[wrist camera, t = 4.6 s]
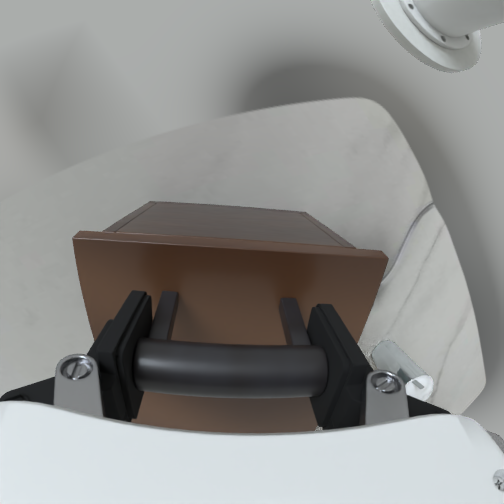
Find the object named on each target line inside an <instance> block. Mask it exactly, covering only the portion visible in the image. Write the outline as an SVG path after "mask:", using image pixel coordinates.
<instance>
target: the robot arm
mask: <svg viewBox="0 0 504 504" xmlns="http://www.w3.org/2000/svg"><path fill="white" fill-rule="evenodd" d="M399 2H400V5H401V7H402V8H403V10H404V11H405V13H406V15H407V16H408V17H409V19H410V20H411V21H412V23H413V24H414V25H415V26H416V27H417V28H418V29H419V30H420V31H421V32H422V33H423V34H424V35H425V36H426V37H428V38H429V39H430V40H432V41H433V42H435V43H436V44H438V45H440V46H442V47H444V48H447V49H452V50H458V49H462V48H465V47H466V46H468V45H469V43H470V42H471V39H472V32H475V31H478V30H481V29H484V28H487V27H490V26H494V25H497V24H500V23H504V0H399ZM152 322H153V317H152V298H151V296H150V295H147V292H146V291H137V290H132V291H131V292H130V294H129V296H128V297H127V299H126V300H125V302H124V303H123V305H122V307H121V308H120V310H119V311H118V313H117V315H116V316H115V318H114V320H113V319H109V320H108V321H107V323H106V324H105V326H104V327H103V329H102V330H101V332H100V334H99V335H98V337H97V339H96V340H95V342H94V343H93V345H92V347H91V348H90V350H89V352H88V353H87V355H85V354H73V355H69V356H66V357H64V358H63V359H61V360H60V361H59V363H58V364H57V367H56V373H55V377H52V378H49V379H46V380H43V381H40V382H37V383H34V384H31V385H27V386H24V387H21V388H18V389H15V390H11V391H9V392H7V393H5V394H4V395H3V396H2V397H1V398H0V504H504V441H503V439H502V438H501V437H500V436H499V435H497V434H495V433H492V432H489V431H486V430H485V429H484V428H483V427H482V426H481V425H479V424H478V423H477V422H476V421H475V420H473V419H471V418H470V417H466V416H462V415H456V414H451V413H450V412H448V411H446V410H444V409H442V408H439V407H437V406H434V405H432V404H429V403H427V402H424V401H422V400H419V399H417V398H414V397H412V396H409V395H407V394H406V388H405V384H404V381H403V380H402V379H401V377H399V376H398V375H397V374H395V373H393V372H391V371H387V370H374V371H373V369H372V367H371V366H370V364H369V363H368V361H367V359H366V358H365V356H364V354H363V353H362V351H361V350H360V348H359V346H358V345H357V343H356V342H355V340H354V338H353V337H352V335H351V334H350V332H349V330H348V329H347V327H346V326H345V324H344V323H343V321H342V319H341V318H340V316H339V315H338V313H337V312H336V310H335V308H334V307H333V305H332V304H317V305H316V307H312V309H311V313H310V317H309V322H308V326H307V333H308V336H309V339H310V342H311V345H320V346H322V347H323V348H324V350H325V352H326V355H327V359H328V368H329V373H328V382H327V386H326V389H325V391H324V393H323V394H322V395H320V396H312V397H309V399H310V402H311V405H312V408H313V412H314V415H315V418H316V421H317V424H318V426H319V427H322V428H323V430H320V431H307V432H290V433H221V432H204V431H192V430H181V429H172V428H164V427H156V426H149V425H143V424H137V423H131V420H132V419H137V416H138V412H139V409H140V405H141V402H142V398H143V395H144V391H140V390H138V389H137V388H136V386H135V383H134V379H133V356H134V350H135V347H136V344H137V341H138V340H139V338H142V337H146V338H148V336H149V332H150V329H151V326H152Z"/></svg>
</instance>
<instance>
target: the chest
mask: <svg viewBox="0 0 504 504" xmlns="http://www.w3.org/2000/svg"><path fill="white" fill-rule="evenodd" d="M102 232H113V233H131V234H148V235H165V236H181V237H197V238H213V239H228V240H243V241H258V242H272V243H286V244H300V245H314V246H327V247H340V248H353V249H356V247H354V246H353V245H352V244H350V243H349V242H347V241H346V240H345V239H343V238H342V237H340V236H339V235H338V234H336V233H335V232H333V231H332V230H331V229H329V228H328V227H326V226H325V225H323V224H322V223H321V222H319V221H318V220H316V219H315V218H313V217H312V216H310V215H309V214H308V213H306V212H297V211H286V210H275V209H264V208H252V207H239V206H225V205H210V204H193V203H175V202H154V201H150V202H148V203H147V204H145V205H144V206H142V207H140V208H139V209H137V210H135V211H134V212H132V213H130V214H129V215H127V216H126V217H124V218H122V219H121V220H119V221H118V222H116V223H114V224H113V225H111V226H110V227H108V228H107V229H105V230H104V231H102Z"/></svg>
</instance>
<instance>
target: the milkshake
mask: <svg viewBox="0 0 504 504" xmlns="http://www.w3.org/2000/svg"><path fill="white" fill-rule="evenodd" d="M372 357H373V361H374V363H375V364H376V366H377V368H378V370H387V371H391V372H393V373H395V374H397V375H398V376H399V377H401V379H402V380H403V381H404V384H405V388H406V394H407V395H409V396H412V397H414V398H417V399H419V400H422V401H424V402H425V401H426V400H427V399H428V398H429V397H430V395H431V393H432V390H433V386H434V382H433V379H432V378H431V377H430V376H429V375H428V374H427V373H426V372H425V371H424V370H423V369H421V368H420V367H419V366H418V365H417V364H416V363H415V362H414V361H413V360H412V359H411V358H410V357H409V356H408V355H407V354H406V353H405V352H404V351H403V350H402V349H401V348H400V347H399V346H398V345H397V344H396V343H395V342H393V341H391V340H386V341H382V342H381V343H379V344H378V345H377V346H376V347H375V348H374V350H373V353H372Z"/></svg>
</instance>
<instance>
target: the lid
mask: <svg viewBox="0 0 504 504" xmlns="http://www.w3.org/2000/svg"><path fill="white" fill-rule="evenodd" d="M72 240H73V246H74V253H75V259H76V264H77V270H78V275H79V280H80V285H81V290H82V294H83V299H84V303H85V307H86V311H87V315H88V319H89V323H90V327H91V330H92V334H93V337H94V341H95V340H96V339H97V337H98V335H99V334H100V332H101V330H102V329H103V327H104V326H105V324H106V323H107V321H108V320H109V319H113V320H114V318H115V316H116V315H117V313H118V311H119V310H120V308H121V307H122V305H123V303H124V302H125V300H126V299H127V297H128V296H129V294H130V292H131V291H132V290H137V291H146V292H147V295H150V296H151V298H152V317H153V322H152V326H151V329H150V332H149V336H148V338H146V337H142V338H139V340H138V341H137V344H136V347H135V350H134V356H133V379H134V383H135V386H136V388H137V389H138V390H140V391H144V395H143V398H142V402H141V405H140V409H139V412H138V416H137V419H132V420H131V423H137V424H143V425H149V426H156V427H164V428H172V429H181V430H192V431H204V432H221V433H290V432H307V431H315V429H316V427H317V425H318V424H317V421H316V418H315V415H314V412H313V408H312V405H311V402H310V399H309V397H312V396H320V395H322V394H323V393H324V391H325V389H326V386H327V382H328V373H329V368H328V359H327V355H326V352H325V350H324V348H323V347H322V346H320V345H311V342H310V339H309V336H308V333H307V326H308V322H309V317H310V313H311V309H312V307H316V305H317V304H332V305H333V307H334V308H335V310H336V312H337V313H338V315H339V316H340V318H341V319H342V321H343V323H344V324H345V326H346V327H347V329H348V330H349V332H350V334H351V335H352V337H353V338H354V340H355V342H356V343H358V341H359V338H360V336H361V334H362V331H363V329H364V326H365V324H366V321H367V319H368V316H369V314H370V311H371V308H372V306H373V303H374V300H375V298H376V295H377V292H378V289H379V286H380V283H381V281H382V278H383V275H384V272H385V269H386V266H387V263H388V259H389V258H388V257H387V256H386V255H385V254H384V253H383V252H382V251H379V250H366V249H353V248H340V247H327V246H314V245H300V244H286V243H272V242H258V241H243V240H228V239H213V238H197V237H181V236H165V235H148V234H131V233H113V232H94V231H79V232H78V233H77V234H76V235H75V236H74V237H73V238H72Z"/></svg>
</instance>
